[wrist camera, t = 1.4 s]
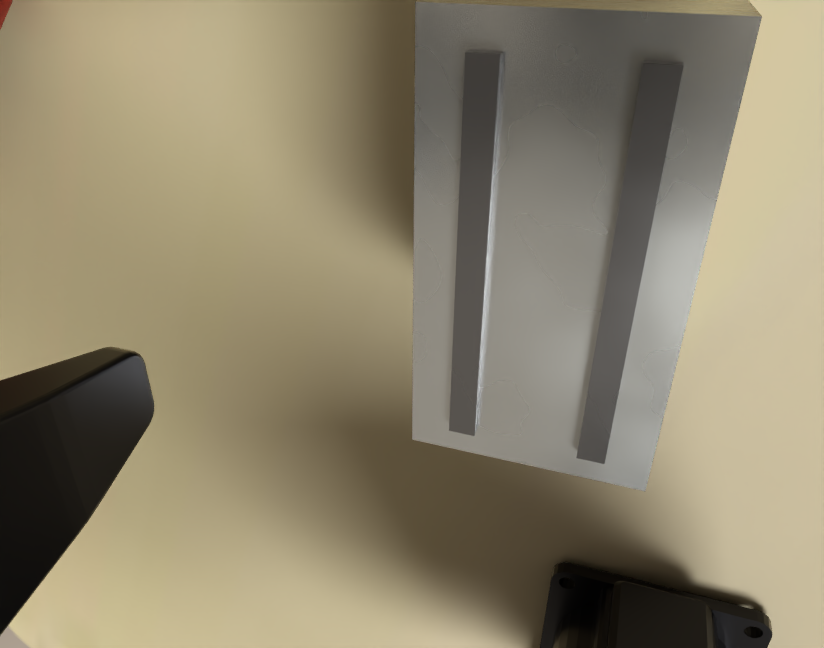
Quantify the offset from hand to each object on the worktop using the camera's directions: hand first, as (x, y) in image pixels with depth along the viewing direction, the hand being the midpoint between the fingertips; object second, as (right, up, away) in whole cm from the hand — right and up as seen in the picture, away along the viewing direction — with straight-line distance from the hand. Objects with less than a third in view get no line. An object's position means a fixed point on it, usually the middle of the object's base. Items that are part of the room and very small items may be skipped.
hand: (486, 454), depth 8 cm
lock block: (+3, +5, +8) cm, 10 cm away
